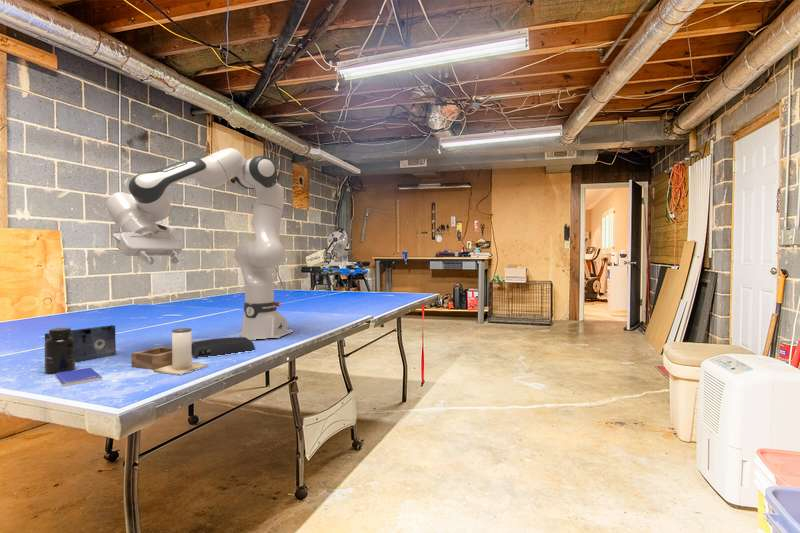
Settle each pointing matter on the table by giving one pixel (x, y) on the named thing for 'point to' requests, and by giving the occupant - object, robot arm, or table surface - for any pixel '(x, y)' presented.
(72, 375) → the blue book
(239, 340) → the external hard drive
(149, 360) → the block
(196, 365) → the pad
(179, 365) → the beige cylinder
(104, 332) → the vhs cassette tape
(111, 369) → the table surface
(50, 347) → the supplement bottle
